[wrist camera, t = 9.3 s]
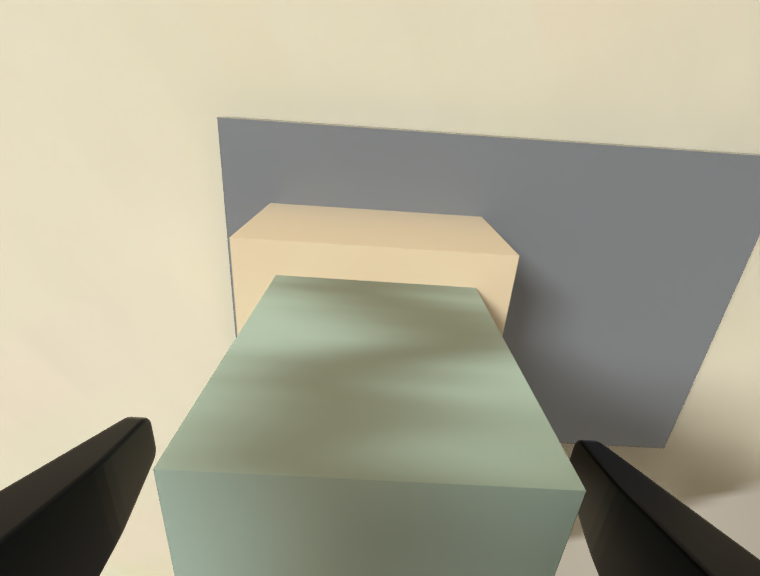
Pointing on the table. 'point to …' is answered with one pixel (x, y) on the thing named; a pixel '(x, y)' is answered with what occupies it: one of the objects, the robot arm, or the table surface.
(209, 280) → the table surface
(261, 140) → the build plate
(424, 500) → the sage block
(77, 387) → the table surface
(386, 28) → the table surface
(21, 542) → the robot arm
